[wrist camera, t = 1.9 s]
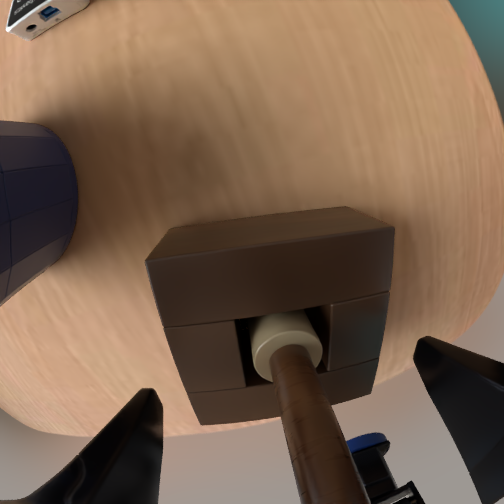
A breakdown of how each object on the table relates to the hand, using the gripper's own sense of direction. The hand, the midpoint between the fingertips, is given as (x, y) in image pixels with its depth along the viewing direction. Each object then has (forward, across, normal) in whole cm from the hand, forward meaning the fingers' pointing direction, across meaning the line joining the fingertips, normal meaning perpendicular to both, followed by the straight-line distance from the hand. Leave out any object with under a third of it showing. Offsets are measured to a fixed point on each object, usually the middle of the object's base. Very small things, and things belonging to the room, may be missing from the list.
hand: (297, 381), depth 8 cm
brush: (+6, 0, 0) cm, 6 cm away
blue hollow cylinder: (+6, +12, -7) cm, 15 cm away
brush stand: (+6, 0, 0) cm, 6 cm away
